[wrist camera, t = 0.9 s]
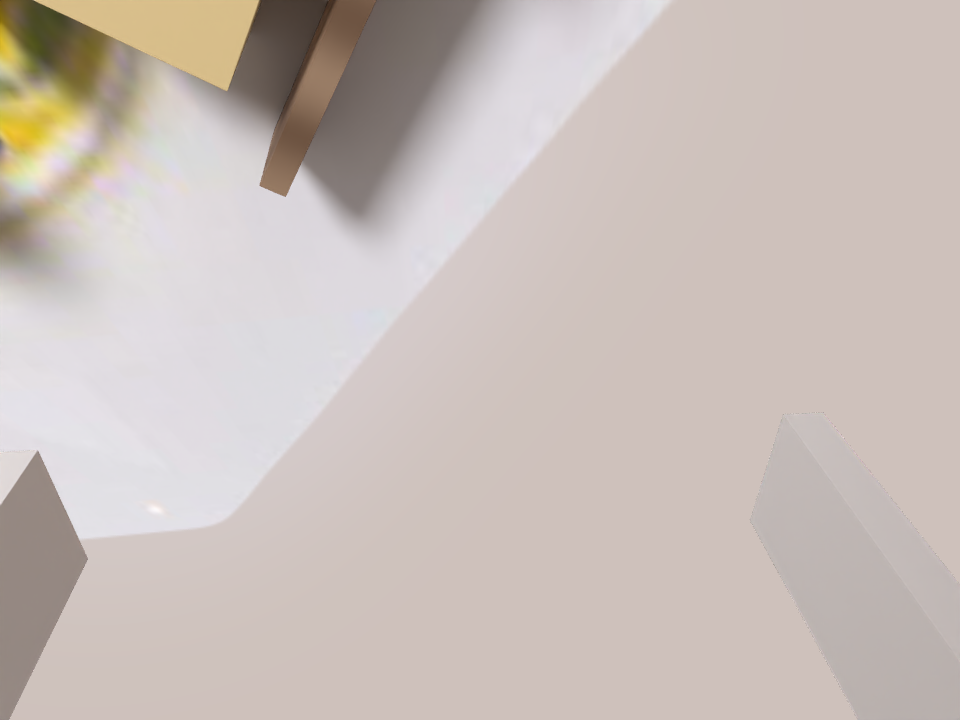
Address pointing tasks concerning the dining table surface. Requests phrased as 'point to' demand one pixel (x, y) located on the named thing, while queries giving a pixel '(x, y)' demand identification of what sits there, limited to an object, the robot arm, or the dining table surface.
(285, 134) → the lane rack
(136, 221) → the dining table surface
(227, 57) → the block
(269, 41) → the dining table surface
